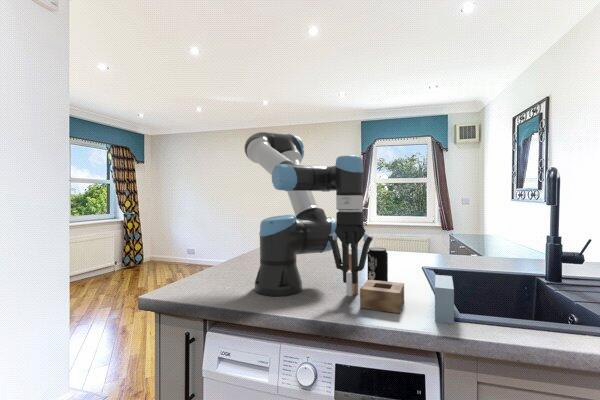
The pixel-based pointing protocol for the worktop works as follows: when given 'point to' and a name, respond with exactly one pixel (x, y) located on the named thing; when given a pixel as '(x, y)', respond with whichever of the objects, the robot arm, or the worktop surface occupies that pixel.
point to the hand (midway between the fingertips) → (350, 294)
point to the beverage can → (377, 264)
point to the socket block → (382, 296)
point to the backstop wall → (444, 299)
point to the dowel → (357, 281)
